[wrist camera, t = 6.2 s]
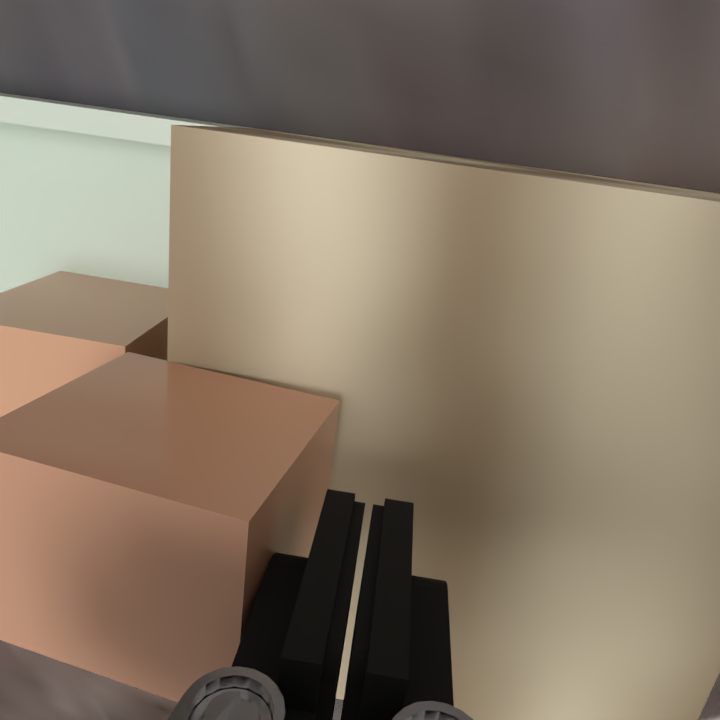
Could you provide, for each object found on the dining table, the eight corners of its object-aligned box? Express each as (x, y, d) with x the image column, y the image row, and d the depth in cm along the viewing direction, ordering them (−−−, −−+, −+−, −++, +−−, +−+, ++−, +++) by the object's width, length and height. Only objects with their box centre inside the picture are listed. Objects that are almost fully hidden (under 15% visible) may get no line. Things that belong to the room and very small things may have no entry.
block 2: (339, 400, 13) (249, 521, 9) (320, 555, 14) (234, 722, 10) (128, 351, 14) (-45, 439, 10) (129, 500, 15) (-19, 632, 11)
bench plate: (755, 198, 17) (922, 230, 11) (613, 600, 22) (678, 763, 16) (254, 128, 17) (170, 124, 12) (229, 532, 22) (162, 665, 17)
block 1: (125, 346, 14) (-61, 314, 14) (125, 492, 15) (-43, 462, 16) (201, 293, 19) (60, 270, 19) (195, 410, 20) (65, 387, 20)
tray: (254, 128, 17) (206, 125, 14) (229, 532, 22) (188, 612, 19) (-111, 76, 18) (-253, 61, 14) (-56, 482, 23) (-150, 549, 19)
